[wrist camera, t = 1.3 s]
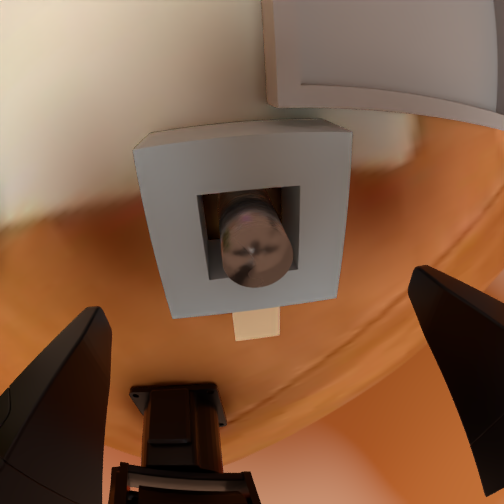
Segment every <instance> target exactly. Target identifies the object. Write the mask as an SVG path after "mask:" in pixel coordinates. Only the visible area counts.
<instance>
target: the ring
mask: <svg viewBox="0 0 504 504" xmlns="http://www.w3.org/2000/svg"><path fill="white" fill-rule="evenodd" d="M352 137H353V132H351V131H349V130H347V129H345V128H342V127H340V126H338V125H336V124H333V123H331V122H329V121H326V120H324V119H280V120H259V121H244V122H232V123H221V124H211V125H202V126H194V127H186V128H179V129H172V130H165V131H159V132H153V133H149V134H148V135H147V136H146V137H145V138H144V139H143V140H142V141H141V142H140V143H139V144H138V145H137V146H136V147H135V148H134V149H133V156H134V161H135V167H136V172H137V178H138V183H139V188H140V193H141V198H142V202H143V207H144V212H145V216H146V221H147V225H148V229H149V234H150V238H151V242H152V246H153V250H154V254H155V258H156V262H157V266H158V270H159V273H160V277H161V281H162V284H163V288H164V292H165V295H166V299H167V302H168V305H169V309H170V312H171V315H172V319H177V318H187V317H197V316H207V315H216V314H225V313H232V316H233V324H234V331H235V339H236V341H241V340H249V339H257V338H264V337H271V336H278V335H280V306H288V305H294V304H301V303H308V302H314V301H321V300H327V299H333V298H336V297H337V291H338V284H339V277H340V270H341V263H342V255H343V247H344V239H345V230H346V220H347V210H348V199H349V187H350V173H351V157H352ZM274 187H281V205H282V226H283V228H284V230H285V232H286V235H287V237H288V239H289V241H290V243H291V246H292V249H293V261H292V264H291V267H290V268H289V270H288V272H287V273H286V274H285V275H284V276H283V277H282V278H281V279H280V280H278V281H277V282H275V283H273V284H271V285H268V286H265V287H259V288H250V287H245V286H241V285H239V284H237V283H235V282H234V281H232V280H231V279H230V278H229V277H228V276H227V275H226V273H225V271H224V268H223V264H222V254H221V243H220V239H215V240H208V235H207V228H206V221H205V213H204V206H203V198H202V195H204V194H213V193H222V192H232V191H241V190H252V189H263V188H274Z"/></svg>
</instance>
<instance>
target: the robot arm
mask: <svg viewBox="0 0 504 504" xmlns="http://www.w3.org/2000/svg"><path fill="white" fill-rule="evenodd" d="M408 295H409V298H410V300H411V303H412V305H413V308H414V310H415V313H416V315H417V318H418V320H419V323H420V326H421V328H422V331H423V333H424V336H425V338H426V340H427V342H428V344H429V347H430V349H431V351H432V353H433V355H434V357H435V359H436V361H437V364H438V366H439V368H440V370H441V372H442V375H443V377H444V379H445V382H446V384H447V386H448V388H449V391H450V393H451V396H452V398H453V401H454V403H455V406H456V408H457V410H458V413H459V416H460V419H461V421H462V424H463V426H464V429H465V432H466V435H467V438H468V440H469V443H470V447H471V449H472V453H473V456H474V459H475V462H476V465H477V468H478V472H479V475H480V479H481V483H482V486H483V490H484V493H485V496H486V497H487V496H489V495H491V494H493V493H495V492H497V491H499V490H500V489H502V488H504V303H502V302H500V301H498V300H497V299H495V298H493V297H490V296H489V295H487V294H485V293H483V292H481V291H479V290H477V289H475V288H473V287H471V286H469V285H467V284H465V283H463V282H461V281H459V280H457V279H455V278H453V277H451V276H449V275H447V274H445V273H443V272H441V271H439V270H437V269H434V268H432V267H430V266H428V265H422V266H417V267H415V268H414V270H413V273H412V277H411V280H410V283H409V287H408ZM111 346H112V330H111V327H110V325H109V322H108V320H107V318H106V316H105V314H104V311H103V310H102V308H101V307H99V306H94V307H87V308H85V309H84V310H83V311H82V312H81V313H80V314H79V315H78V316H77V317H76V318H75V319H74V320H73V321H72V322H71V323H70V324H69V325H68V326H67V327H66V328H65V329H64V330H63V331H62V332H61V333H60V334H59V335H58V336H57V337H56V338H55V339H54V340H53V341H52V342H51V343H50V344H49V345H48V346H47V347H46V348H45V349H44V350H43V351H42V352H41V353H40V354H39V355H38V356H37V357H36V358H35V359H34V360H33V361H32V362H31V363H30V364H29V365H28V366H27V367H26V369H25V370H24V371H23V372H22V373H21V374H20V375H19V376H18V377H17V378H16V379H15V380H14V381H13V383H12V384H11V385H10V388H7V389H6V390H5V391H4V393H3V394H2V395H1V396H0V504H102V471H103V451H104V437H105V425H106V414H107V405H108V396H109V388H110V371H111ZM129 396H130V397H131V399H132V400H133V402H134V403H135V405H136V406H137V407H138V409H139V410H140V412H141V413H142V415H143V416H144V420H143V435H142V454H141V466H135V465H129V464H128V463H125V462H120V466H119V467H112V472H111V486H110V494H109V501H108V504H261V502H260V499H259V496H258V494H257V491H256V487H255V484H254V482H253V478H252V475H251V472H241V473H223V464H222V454H221V443H220V433H219V427H223V426H226V425H227V421H226V417H225V413H224V410H223V406H222V402H221V399H220V395H219V391H218V388H217V386H216V385H214V384H202V385H189V386H173V387H149V388H131V389H130V392H129ZM130 487H136V488H139V492H137V491H130Z"/></svg>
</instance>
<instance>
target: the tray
mask: <svg viewBox="0 0 504 504" xmlns="http://www.w3.org/2000/svg"><path fill="white" fill-rule="evenodd" d="M261 5H262V21H263V38H264V56H265V76H266V97H267V104H269V105H272V106H274V107H276V108H344V109H364V110H378V111H390V112H400V113H409V114H418V115H425V116H432V117H439V118H445V119H451V120H457V121H462V122H468V123H473V124H477V125H482V126H487V127H491V128H495V129H500V130H504V0H261Z"/></svg>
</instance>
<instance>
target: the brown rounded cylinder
mask: <svg viewBox="0 0 504 504" xmlns="http://www.w3.org/2000/svg"><path fill="white" fill-rule="evenodd" d="M217 206H218V219H219V231H220V243H221V254H222V264H223V268H224V271H225V273H226V275H227V276H228V277H229V278H230V279H231V280H232V281H234V282H235V283H237V284H239V285H241V286H245V287H250V288H259V287H265V286H268V285H271V284H273V283H275V282H277V281H278V280H280V279H281V278H282V277H283V276H284V275H285V274H286V273H287V272H288V270H289V268H290V267H291V264H292V261H293V249H292V246H291V243H290V241H289V239H288V237H287V235H286V232H285V230H284V228H283V226H282V224H281V222H280V220H279V217H278V215H277V213H276V211H275V209H274V207H273V205H272V203H271V201H270V199H269V196H268V194H267V192H266V190H265V189H264V188H263V189H252V190H241V191H232V192H222V193H219V195H218V200H217Z"/></svg>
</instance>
